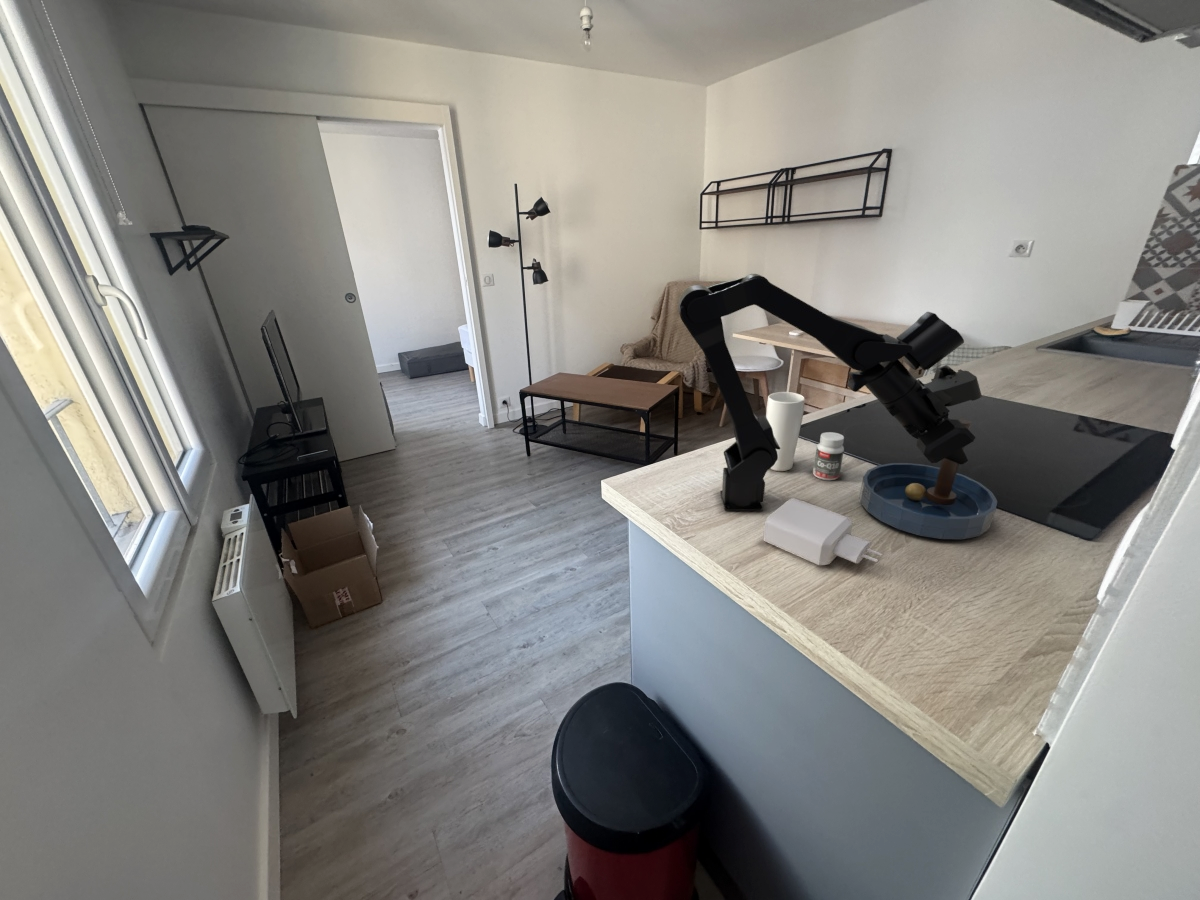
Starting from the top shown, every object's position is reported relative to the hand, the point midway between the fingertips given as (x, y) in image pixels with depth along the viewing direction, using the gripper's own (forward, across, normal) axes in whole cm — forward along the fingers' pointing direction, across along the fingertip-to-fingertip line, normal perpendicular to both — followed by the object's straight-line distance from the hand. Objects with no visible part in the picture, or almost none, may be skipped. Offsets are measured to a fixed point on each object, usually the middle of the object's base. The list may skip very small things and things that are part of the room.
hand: (961, 459), depth 74 cm
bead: (+2, +2, +8) cm, 9 cm away
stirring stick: (+4, 0, +6) cm, 8 cm away
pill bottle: (-5, +10, +19) cm, 22 cm away
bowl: (+4, -1, +10) cm, 11 cm away
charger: (-8, -15, +22) cm, 28 cm away
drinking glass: (-11, +12, +25) cm, 30 cm away
